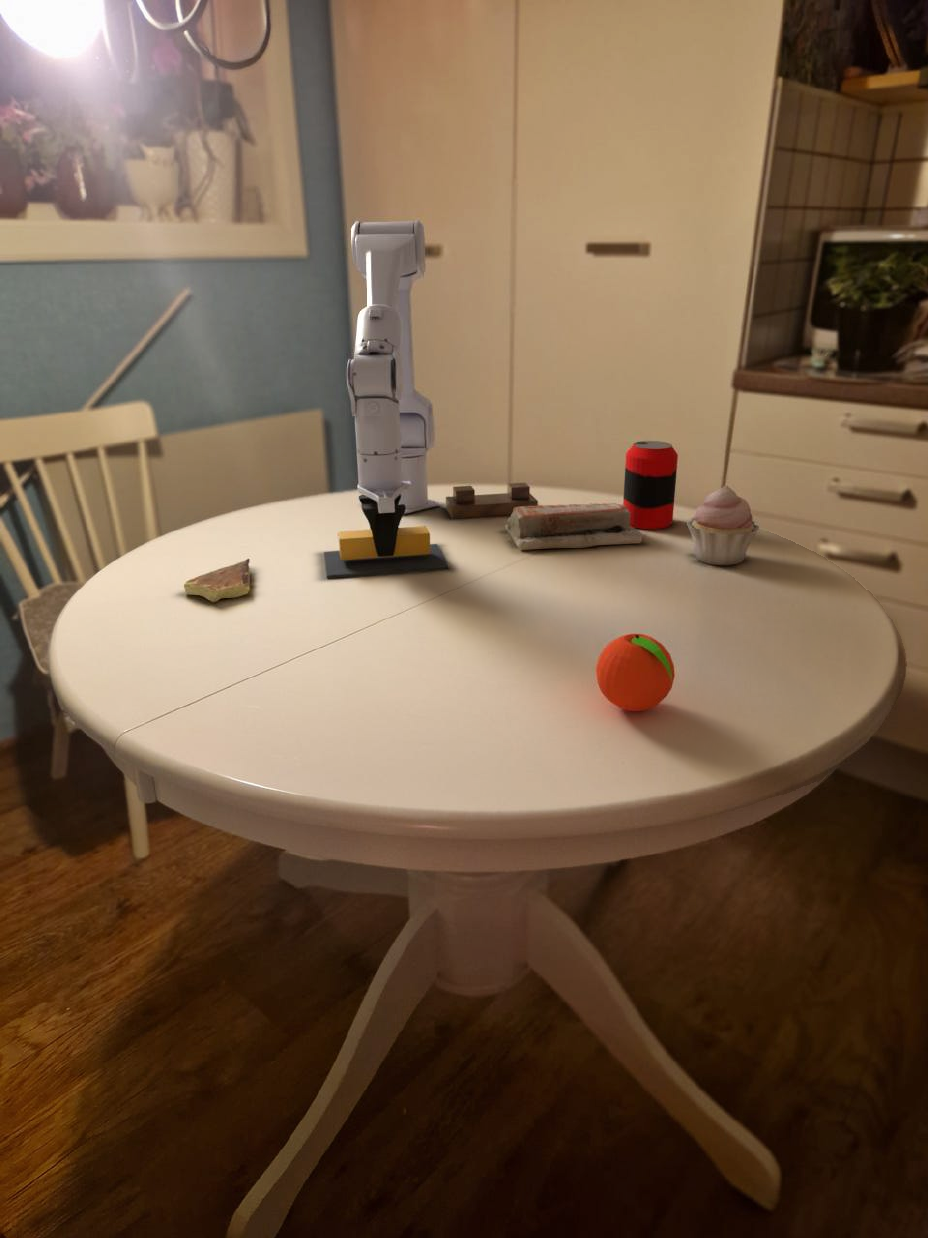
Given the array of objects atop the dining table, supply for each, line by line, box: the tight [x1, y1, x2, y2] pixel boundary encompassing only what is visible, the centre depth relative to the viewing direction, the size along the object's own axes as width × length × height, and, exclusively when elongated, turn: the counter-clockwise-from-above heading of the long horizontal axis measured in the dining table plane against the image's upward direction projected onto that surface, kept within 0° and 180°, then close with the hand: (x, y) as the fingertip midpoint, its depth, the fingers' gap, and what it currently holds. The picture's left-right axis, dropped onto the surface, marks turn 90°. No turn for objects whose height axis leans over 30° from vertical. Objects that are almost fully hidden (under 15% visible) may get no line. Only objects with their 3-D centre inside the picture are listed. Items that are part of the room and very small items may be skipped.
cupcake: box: [686, 485, 760, 566], centre depth 115 cm, size 9×9×10 cm
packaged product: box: [505, 502, 643, 551], centre depth 125 cm, size 18×5×10 cm
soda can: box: [622, 440, 679, 530], centre depth 130 cm, size 8×8×12 cm
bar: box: [337, 525, 431, 560], centre depth 117 cm, size 12×3×3 cm, turn 100°
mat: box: [323, 543, 450, 579], centre depth 117 cm, size 16×10×1 cm, turn 101°
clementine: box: [595, 633, 675, 712], centre depth 77 cm, size 8×7×7 cm
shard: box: [183, 558, 251, 603], centre depth 109 cm, size 11×8×2 cm
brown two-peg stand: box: [445, 482, 539, 519], centre depth 140 cm, size 14×6×4 cm, turn 101°
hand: (384, 550), depth 117 cm, fingers closed on bar, 3 cm apart
